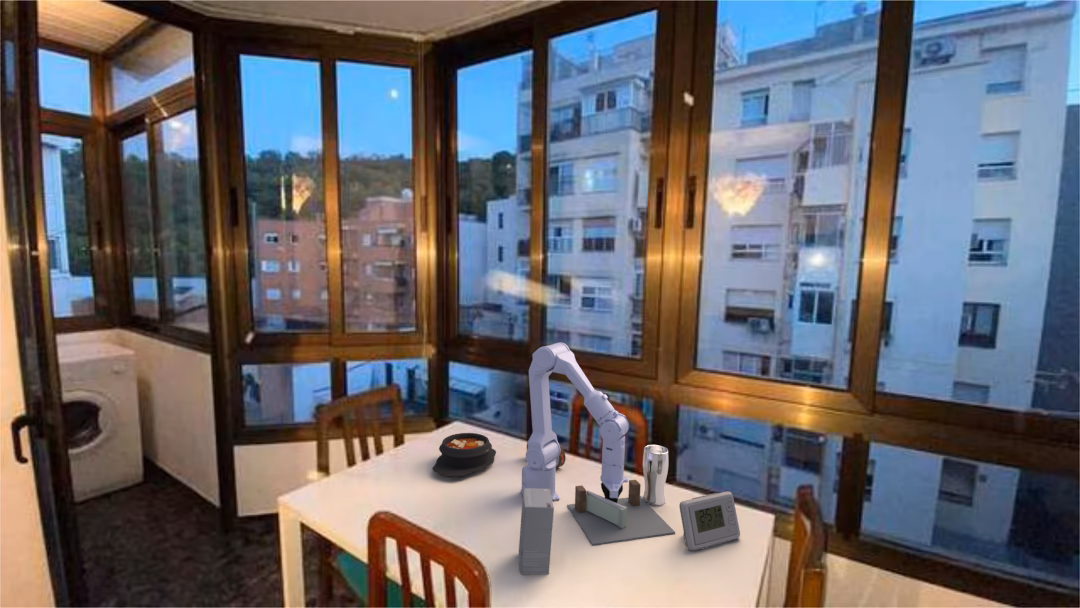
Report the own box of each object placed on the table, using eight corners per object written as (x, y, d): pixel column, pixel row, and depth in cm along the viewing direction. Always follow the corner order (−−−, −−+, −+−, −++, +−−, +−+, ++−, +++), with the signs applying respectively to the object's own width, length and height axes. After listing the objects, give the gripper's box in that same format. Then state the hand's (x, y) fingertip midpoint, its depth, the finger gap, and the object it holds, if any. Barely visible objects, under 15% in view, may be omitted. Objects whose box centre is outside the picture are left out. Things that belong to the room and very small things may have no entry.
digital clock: (686, 554, 114) (689, 510, 113) (669, 532, 123) (670, 492, 122) (749, 547, 117) (751, 504, 116) (727, 526, 126) (729, 487, 125)
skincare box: (518, 552, 113) (519, 486, 111) (549, 551, 114) (550, 486, 112) (519, 576, 105) (521, 505, 103) (553, 575, 105) (554, 504, 104)
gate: (584, 510, 131) (585, 491, 131) (589, 507, 133) (589, 489, 132) (622, 528, 123) (622, 508, 122) (626, 525, 124) (627, 505, 124)
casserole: (469, 487, 144) (469, 460, 144) (417, 475, 152) (417, 448, 151) (508, 456, 167) (509, 433, 166) (462, 447, 175) (462, 424, 174)
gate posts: (578, 514, 130) (579, 491, 130) (574, 509, 133) (575, 486, 132) (639, 507, 135) (640, 484, 134) (634, 501, 138) (635, 479, 137)
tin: (565, 470, 158) (566, 444, 157) (559, 473, 155) (560, 447, 154) (530, 457, 167) (531, 433, 167) (524, 459, 165) (525, 435, 164)
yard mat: (592, 545, 116) (592, 543, 116) (567, 506, 135) (567, 504, 135) (675, 533, 122) (675, 532, 122) (640, 497, 140) (640, 496, 140)
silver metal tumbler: (664, 495, 142) (666, 445, 140) (668, 507, 135) (670, 454, 134) (640, 493, 143) (642, 443, 141) (642, 505, 136) (644, 453, 134)
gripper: (631, 474, 120) (628, 527, 122) (625, 451, 135) (623, 498, 136) (602, 472, 121) (600, 525, 122) (600, 449, 135) (598, 496, 137)
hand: (610, 510), depth 129 cm, fingers closed, pressing on gate
